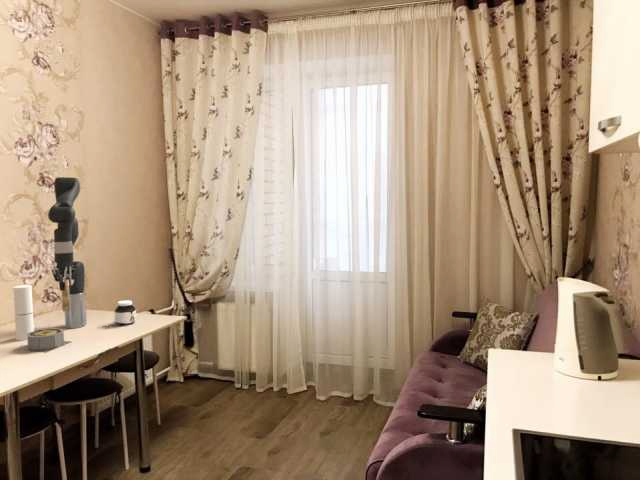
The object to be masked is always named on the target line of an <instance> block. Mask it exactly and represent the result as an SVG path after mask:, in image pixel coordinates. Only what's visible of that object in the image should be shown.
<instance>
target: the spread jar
mask: <svg viewBox="0 0 640 480" xmlns="http://www.w3.org/2000/svg"><path fill="white" fill-rule="evenodd" d="M136 319H137V309H136V307H135V306H134V305H133V301H132V300H120V301H118V302H117V306H116V307H115V309H114V321H115V323H116V324H117V325H119V326H120V327H121V326H123V327H124V326H125V325H126V326H131V325H133V324H134V323H135V322H136ZM126 326H125V327H126Z"/></svg>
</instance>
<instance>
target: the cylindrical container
mask: <svg viewBox="0 0 640 480" xmlns="http://www.w3.org/2000/svg"><path fill="white" fill-rule="evenodd" d="M32 288H33V287H32V285H30V284H25V285H24V284H23V285H15V286H13V303H14V307H13V308H14V321H15V322H14V323H15V338H16V341H23V342H24V341H27V333H29V332H32V331H35V330H34V329H35V327H34V307H33V290H32Z"/></svg>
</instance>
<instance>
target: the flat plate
mask: <svg viewBox="0 0 640 480" xmlns="http://www.w3.org/2000/svg"><path fill="white" fill-rule="evenodd" d="M70 343H73V341H67V340H64V343H63V345H62V346H60V347H58V348H61V347H63V346H66V345H69V344H70ZM58 348H54V349H50V350H42V351H33V350H29V349H28V346H26V347H24V348H20V349H18V351H21V352H33V353H49V352H51V351H53V350H56V349H58Z"/></svg>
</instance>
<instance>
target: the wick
mask: <svg viewBox="0 0 640 480" xmlns="http://www.w3.org/2000/svg"><path fill="white" fill-rule="evenodd" d="M61 298H62V299H61V302H62V303H61V304H62V312H65V311H70V296H69V280H68V279H65V290H64V291H61Z"/></svg>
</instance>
